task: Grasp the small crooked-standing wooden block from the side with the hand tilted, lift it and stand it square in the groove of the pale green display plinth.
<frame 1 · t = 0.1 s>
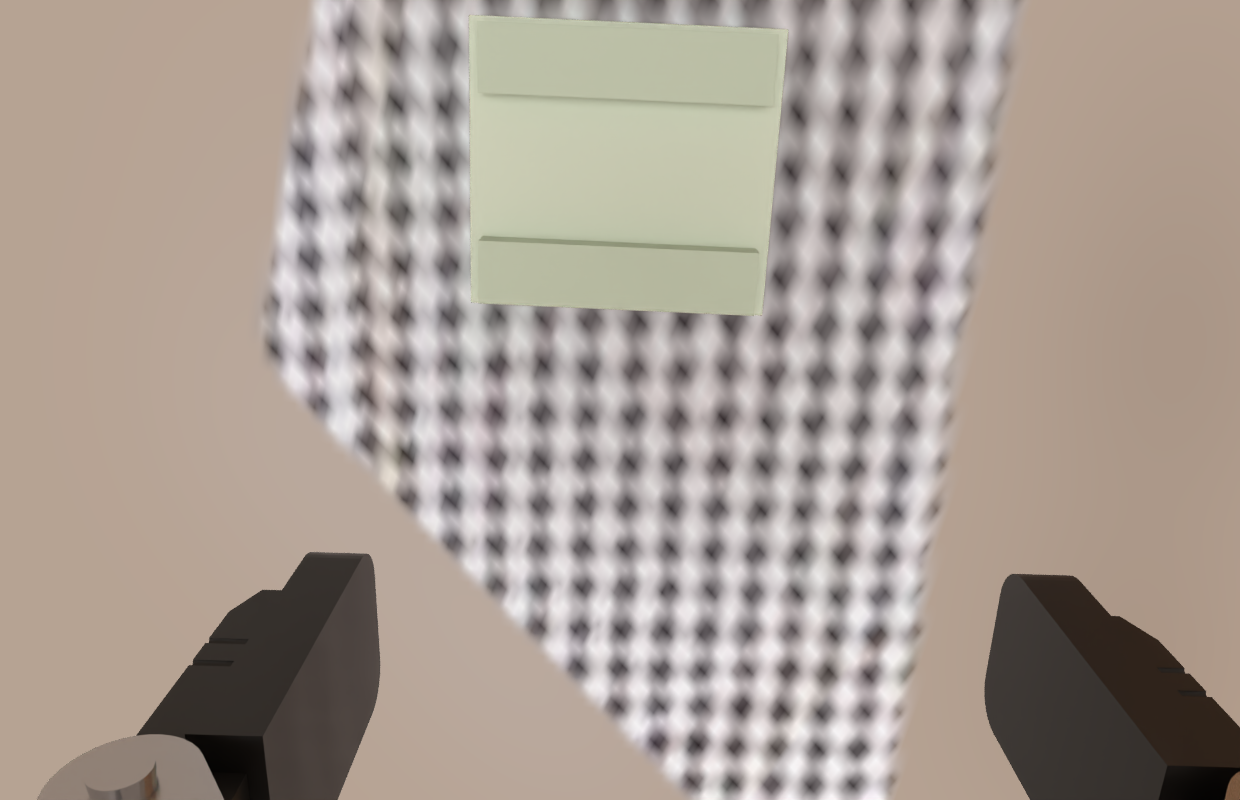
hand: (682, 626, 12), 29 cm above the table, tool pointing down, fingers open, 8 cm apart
plinth: (622, 169, 39), on the table
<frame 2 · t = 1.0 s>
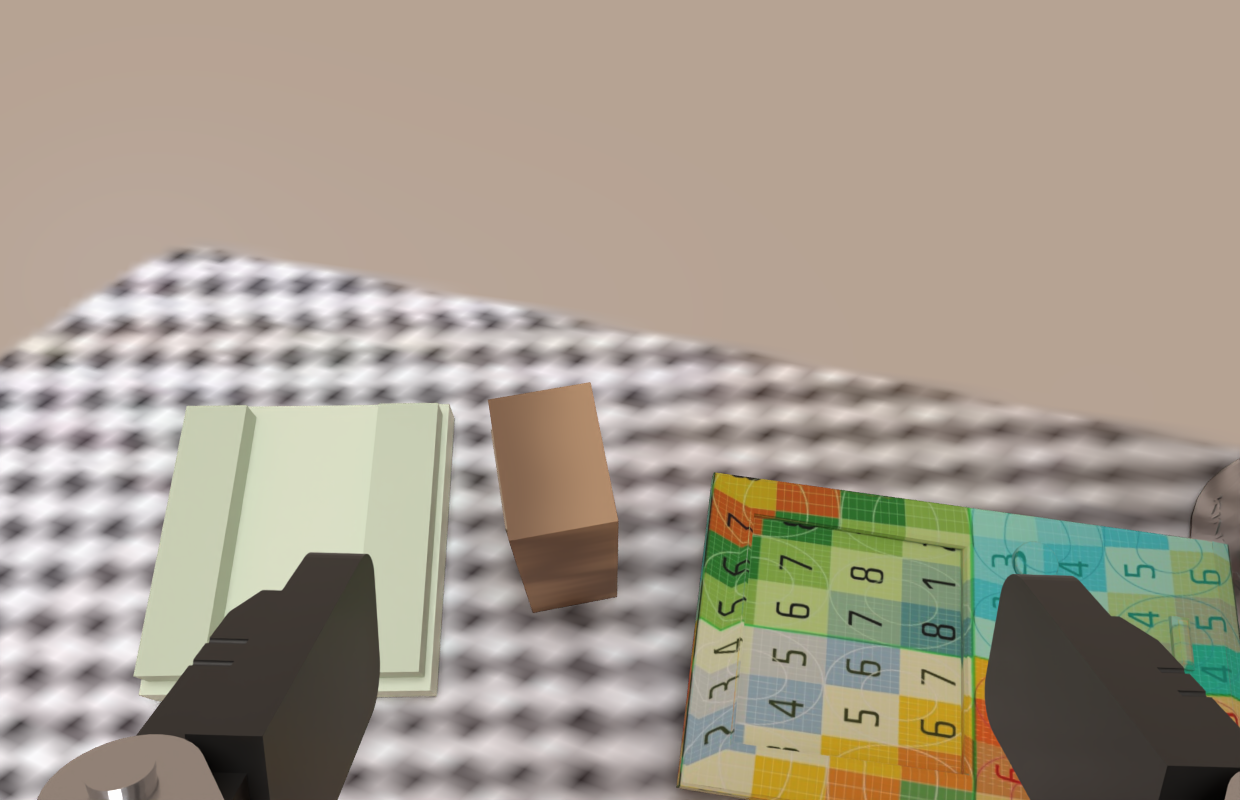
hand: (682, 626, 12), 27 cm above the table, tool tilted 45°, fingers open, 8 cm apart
wooden block: (565, 546, 40), on the table
puzzle game: (935, 676, 38), on the table
plinth: (315, 550, 40), on the table
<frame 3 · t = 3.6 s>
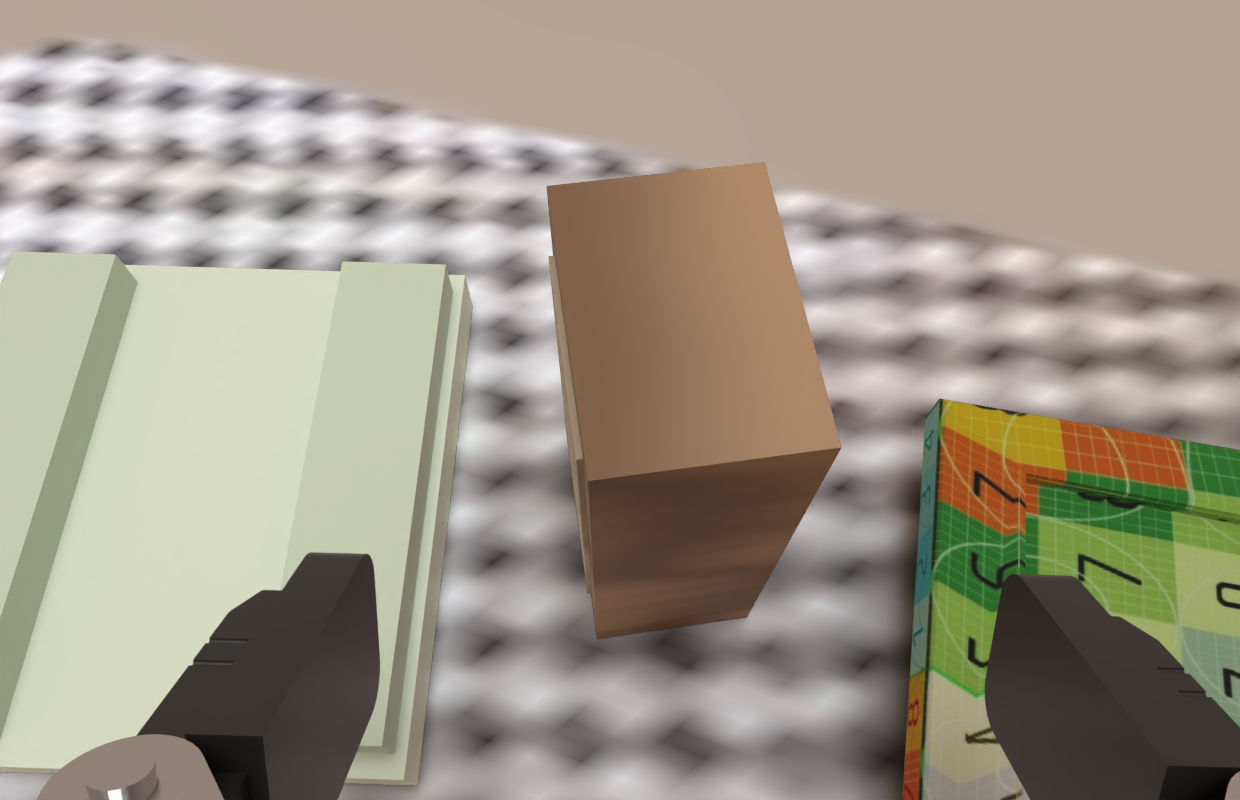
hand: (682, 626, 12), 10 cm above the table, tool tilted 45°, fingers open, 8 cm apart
wooden block: (654, 525, 23), on the table
plinth: (221, 511, 23), on the table
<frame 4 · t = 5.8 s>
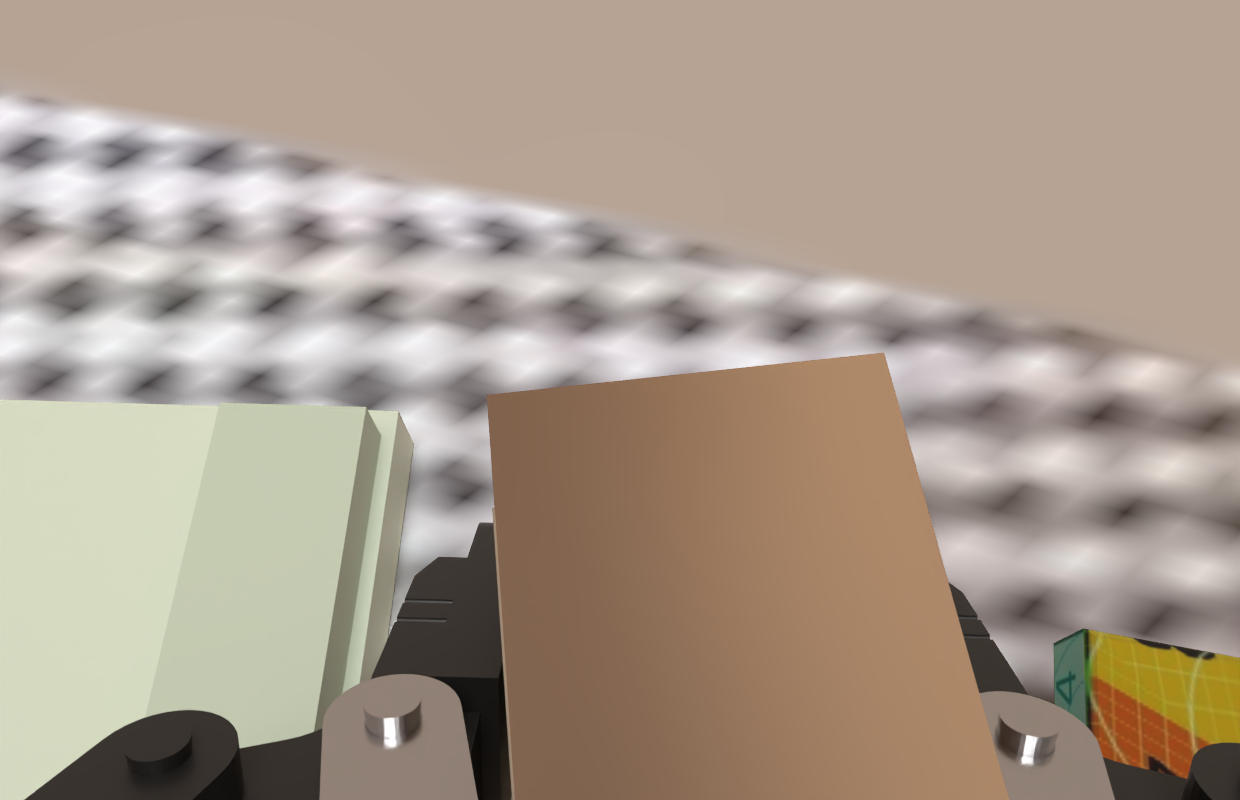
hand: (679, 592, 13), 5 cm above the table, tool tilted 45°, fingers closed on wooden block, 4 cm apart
wooden block: (668, 774, 16), on the table, touching gripper
plinth: (48, 757, 16), on the table
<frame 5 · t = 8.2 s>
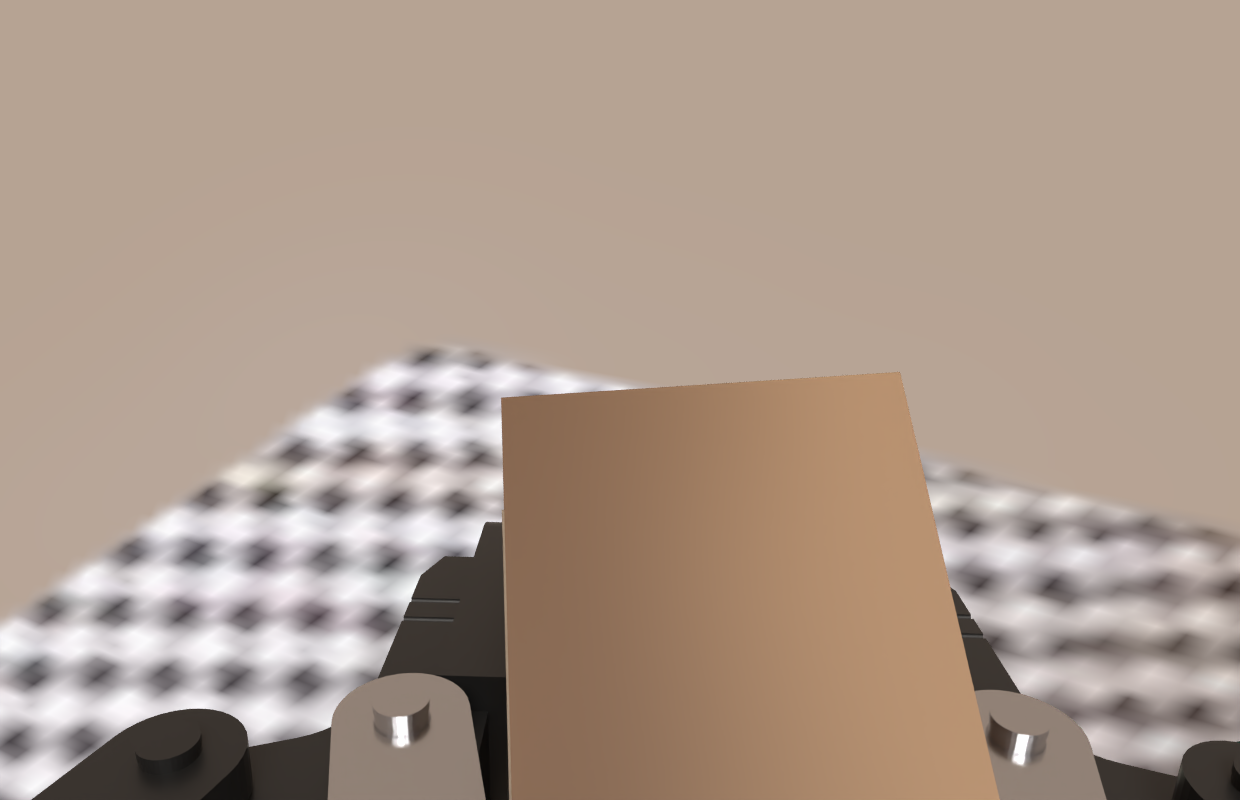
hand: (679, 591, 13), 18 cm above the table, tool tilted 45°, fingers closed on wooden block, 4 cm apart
wooden block: (666, 779, 16), point 14 cm above the table, touching gripper
when the fingers open (7 cm above the table, at t = 10.6 s): wooden block drops 1 cm, resting on plinth.
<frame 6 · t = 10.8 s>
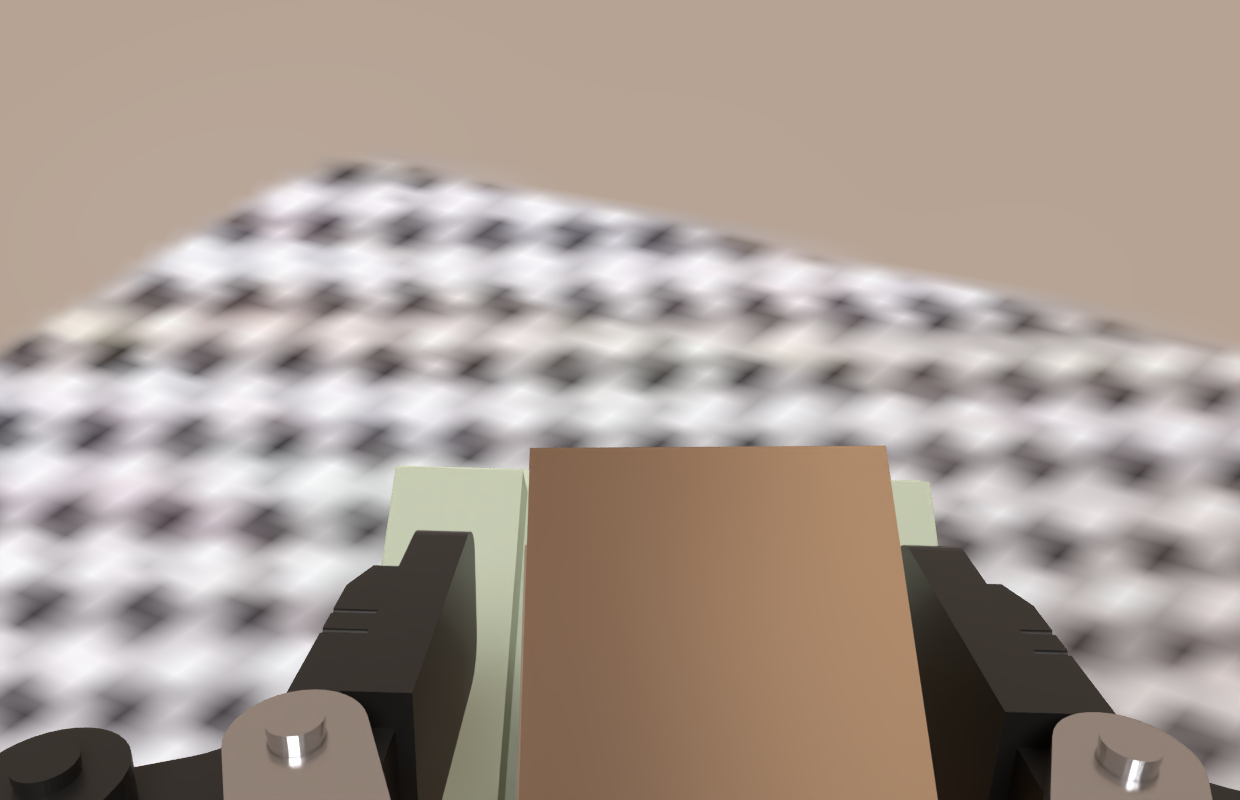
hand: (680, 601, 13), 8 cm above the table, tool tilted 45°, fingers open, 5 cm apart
wooden block: (662, 791, 17), point 1 cm above the table, touching plinth
plinth: (653, 785, 19), on the table
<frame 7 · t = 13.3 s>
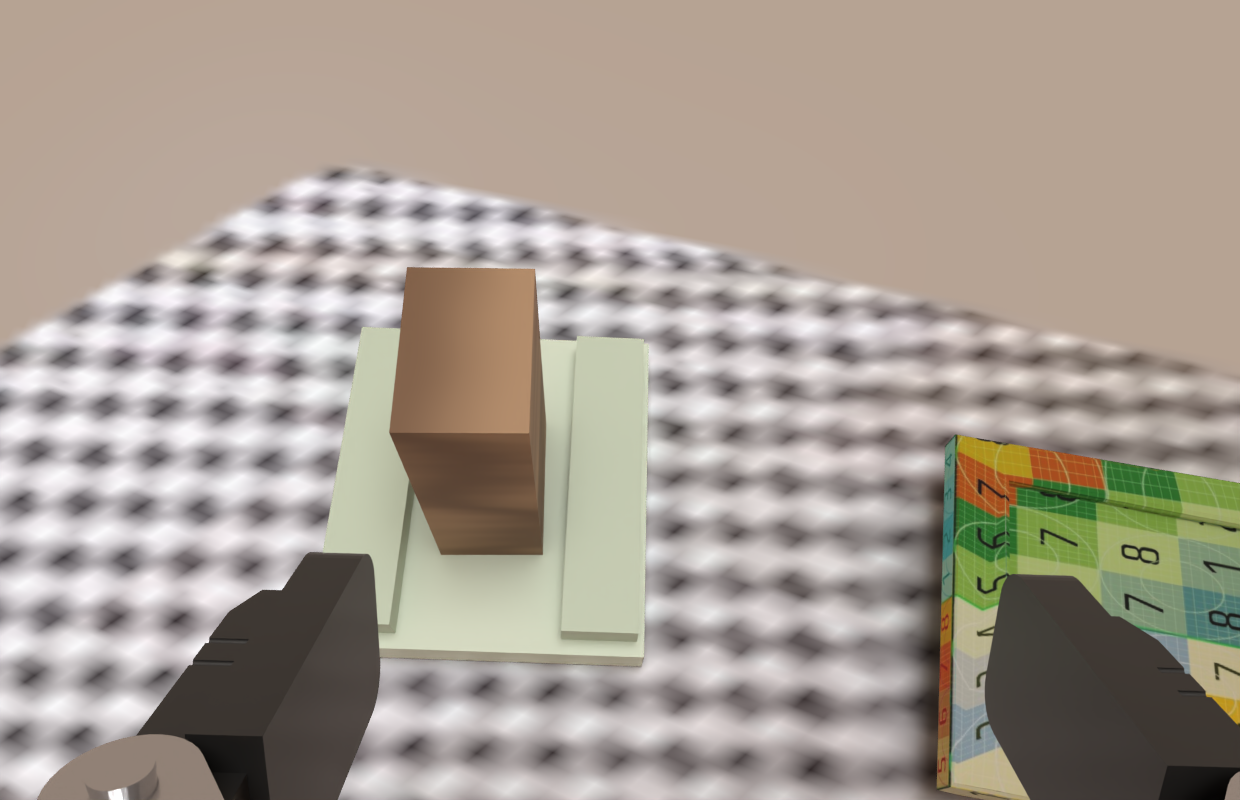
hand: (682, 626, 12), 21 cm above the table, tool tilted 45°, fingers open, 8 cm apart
wooden block: (495, 487, 34), point 1 cm above the table, touching plinth
puzzle game: (1193, 676, 34), on the table
plinth: (496, 497, 35), on the table
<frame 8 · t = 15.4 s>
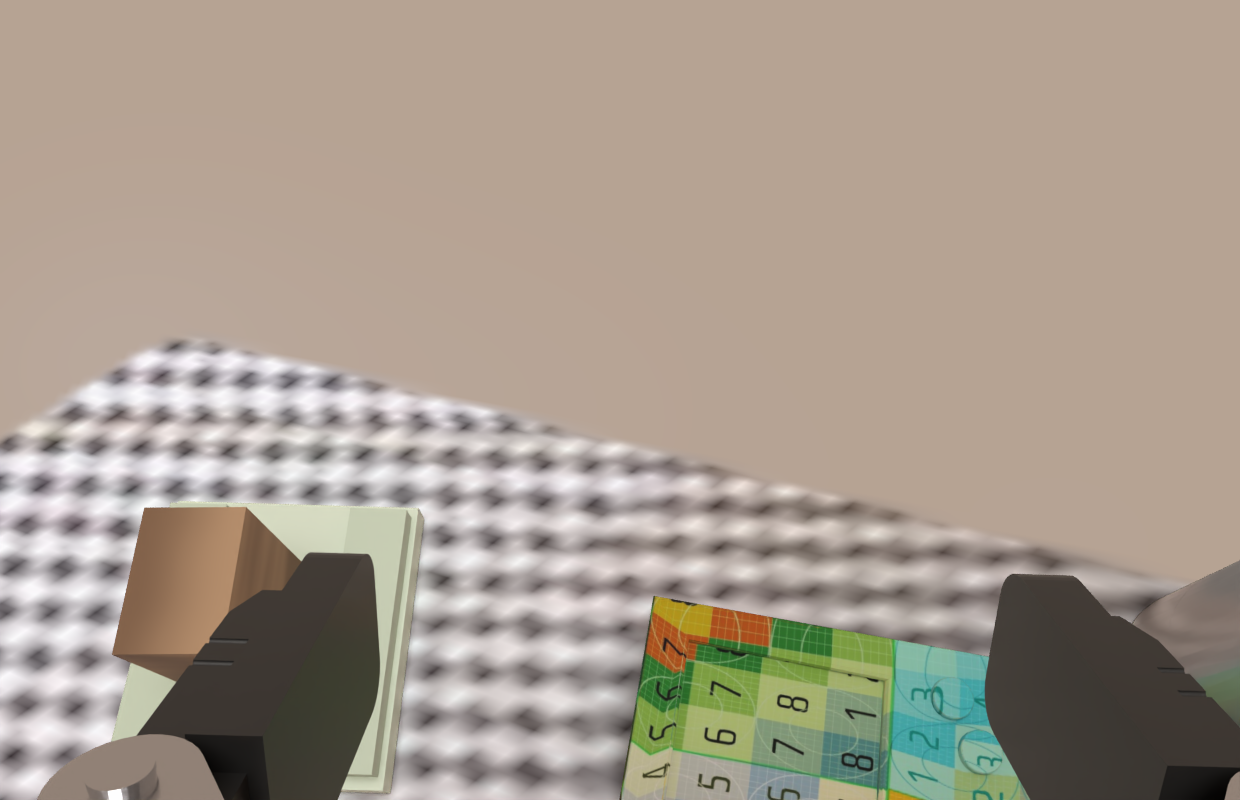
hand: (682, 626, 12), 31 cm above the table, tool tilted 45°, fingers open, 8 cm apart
wooden block: (275, 641, 41), point 1 cm above the table, touching plinth
puzzle game: (859, 796, 40), on the table
plinth: (284, 643, 42), on the table
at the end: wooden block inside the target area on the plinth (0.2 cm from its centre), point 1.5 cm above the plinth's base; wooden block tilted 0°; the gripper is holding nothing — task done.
